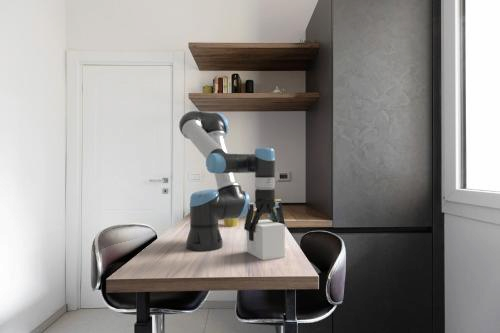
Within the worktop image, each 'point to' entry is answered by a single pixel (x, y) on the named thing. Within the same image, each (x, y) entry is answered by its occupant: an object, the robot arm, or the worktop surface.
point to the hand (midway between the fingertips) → (265, 247)
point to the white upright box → (268, 240)
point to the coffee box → (274, 209)
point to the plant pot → (231, 222)
